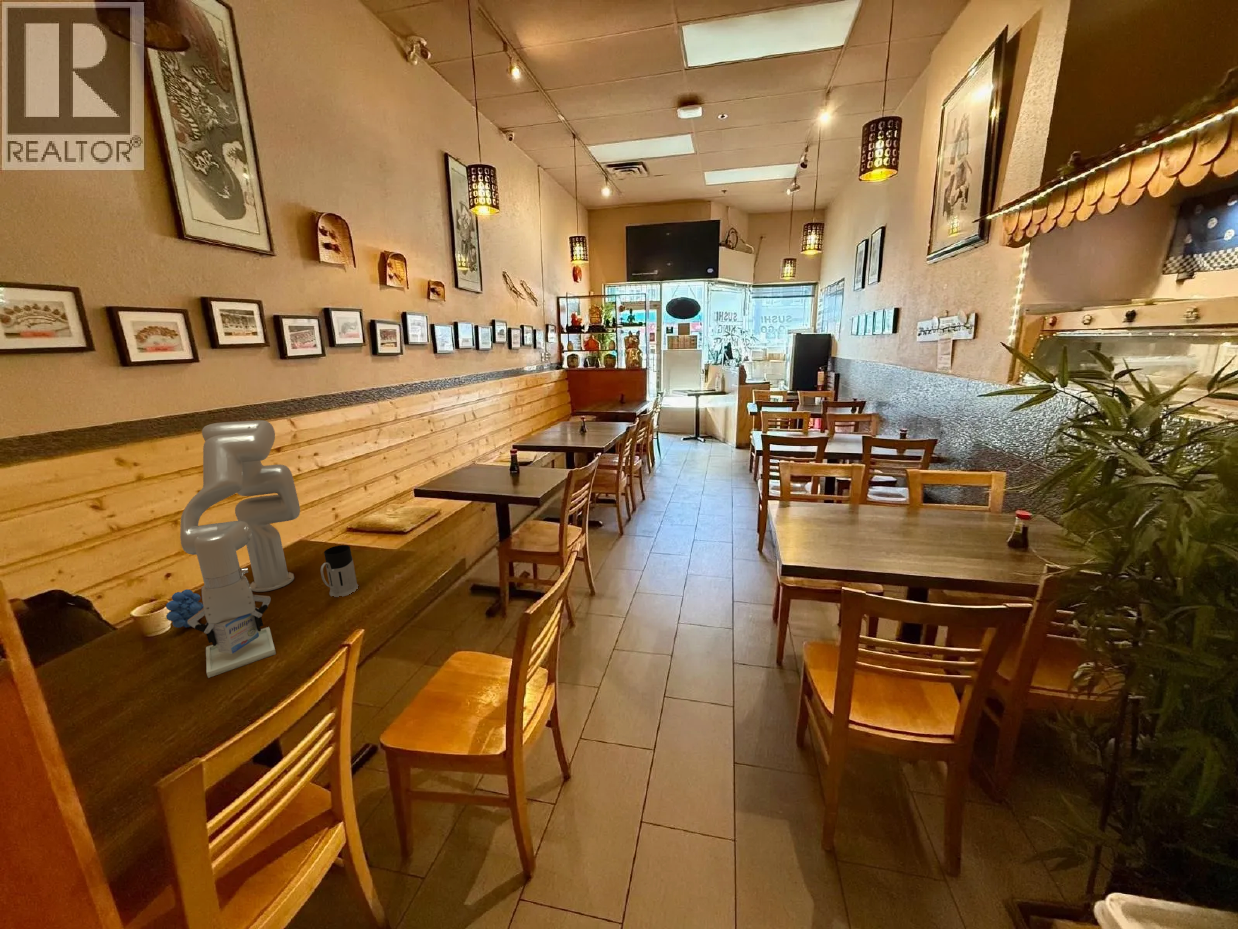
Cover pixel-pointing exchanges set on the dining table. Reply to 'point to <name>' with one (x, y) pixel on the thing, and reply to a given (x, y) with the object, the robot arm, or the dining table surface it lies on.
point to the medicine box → (235, 633)
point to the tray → (239, 654)
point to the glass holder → (339, 571)
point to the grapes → (183, 607)
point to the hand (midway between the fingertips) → (237, 636)
